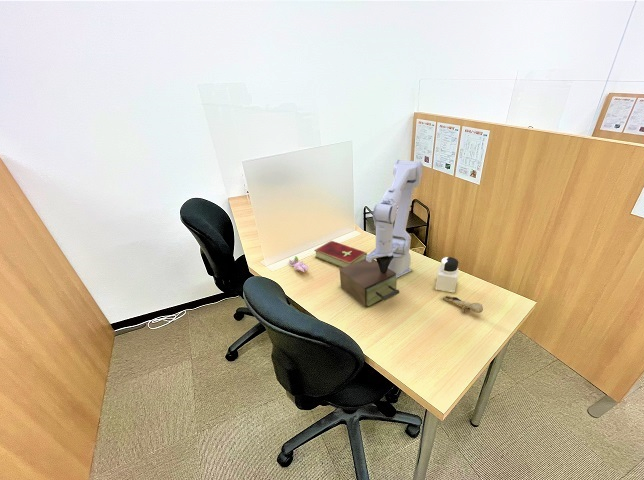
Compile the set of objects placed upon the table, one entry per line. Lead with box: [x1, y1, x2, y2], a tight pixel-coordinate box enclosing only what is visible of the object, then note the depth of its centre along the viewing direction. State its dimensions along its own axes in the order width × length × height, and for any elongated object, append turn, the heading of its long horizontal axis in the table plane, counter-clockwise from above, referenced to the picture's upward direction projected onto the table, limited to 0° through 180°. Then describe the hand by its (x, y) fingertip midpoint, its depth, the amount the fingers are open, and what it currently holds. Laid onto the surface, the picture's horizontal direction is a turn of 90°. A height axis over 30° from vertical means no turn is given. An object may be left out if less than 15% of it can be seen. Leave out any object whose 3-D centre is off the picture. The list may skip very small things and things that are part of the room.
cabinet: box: [339, 258, 396, 308], centre depth 110 cm, size 16×15×9 cm
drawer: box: [366, 276, 400, 307], centre depth 107 cm, size 19×13×7 cm
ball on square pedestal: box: [435, 256, 459, 294], centre depth 109 cm, size 7×7×12 cm
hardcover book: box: [314, 240, 368, 269], centre depth 131 cm, size 12×21×4 cm, turn 53°
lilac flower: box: [289, 255, 309, 273], centre depth 124 cm, size 6×6×15 cm
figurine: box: [442, 295, 484, 314], centre depth 100 cm, size 4×4×15 cm
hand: (383, 271), depth 106 cm, fingers closed
